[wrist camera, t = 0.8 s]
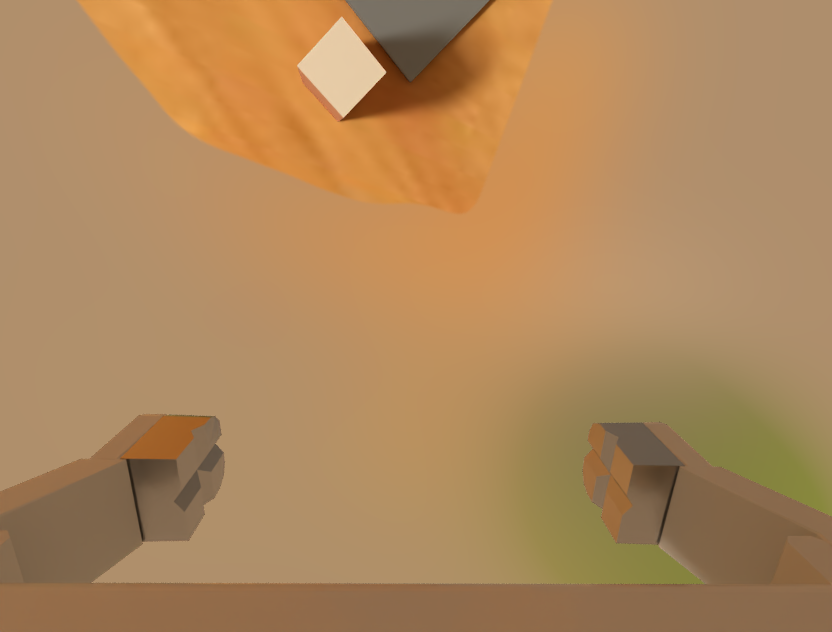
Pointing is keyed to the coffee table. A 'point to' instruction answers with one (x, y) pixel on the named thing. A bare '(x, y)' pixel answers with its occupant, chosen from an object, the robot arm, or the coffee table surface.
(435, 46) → the slate mat
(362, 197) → the coffee table surface
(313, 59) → the tall block
